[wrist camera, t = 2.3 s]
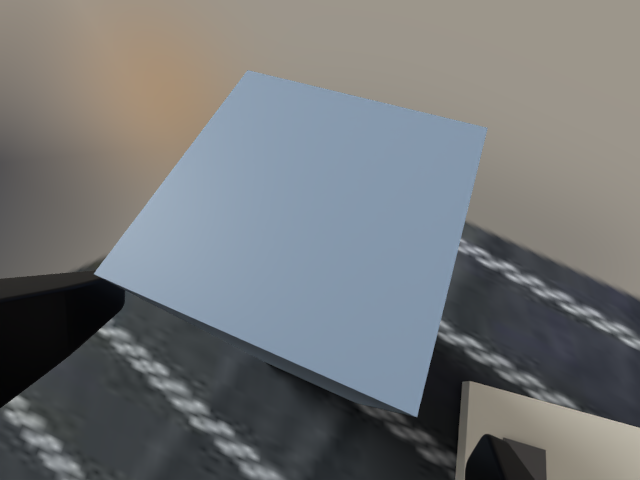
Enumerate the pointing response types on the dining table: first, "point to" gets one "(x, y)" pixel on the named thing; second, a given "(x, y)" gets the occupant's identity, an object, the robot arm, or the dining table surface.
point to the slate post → (311, 235)
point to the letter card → (547, 436)
